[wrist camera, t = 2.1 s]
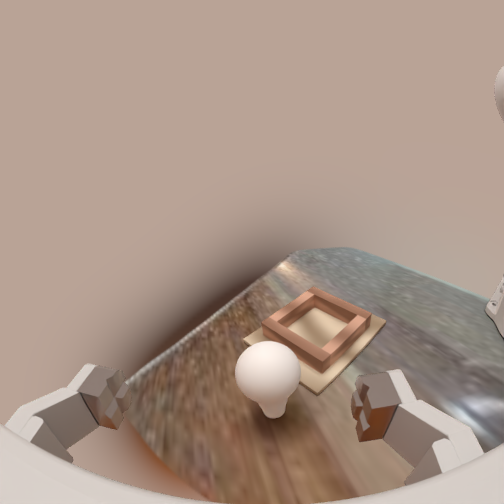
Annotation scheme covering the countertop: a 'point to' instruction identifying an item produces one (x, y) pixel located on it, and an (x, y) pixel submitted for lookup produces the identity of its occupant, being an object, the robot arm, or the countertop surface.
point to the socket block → (320, 335)
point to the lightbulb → (268, 375)
